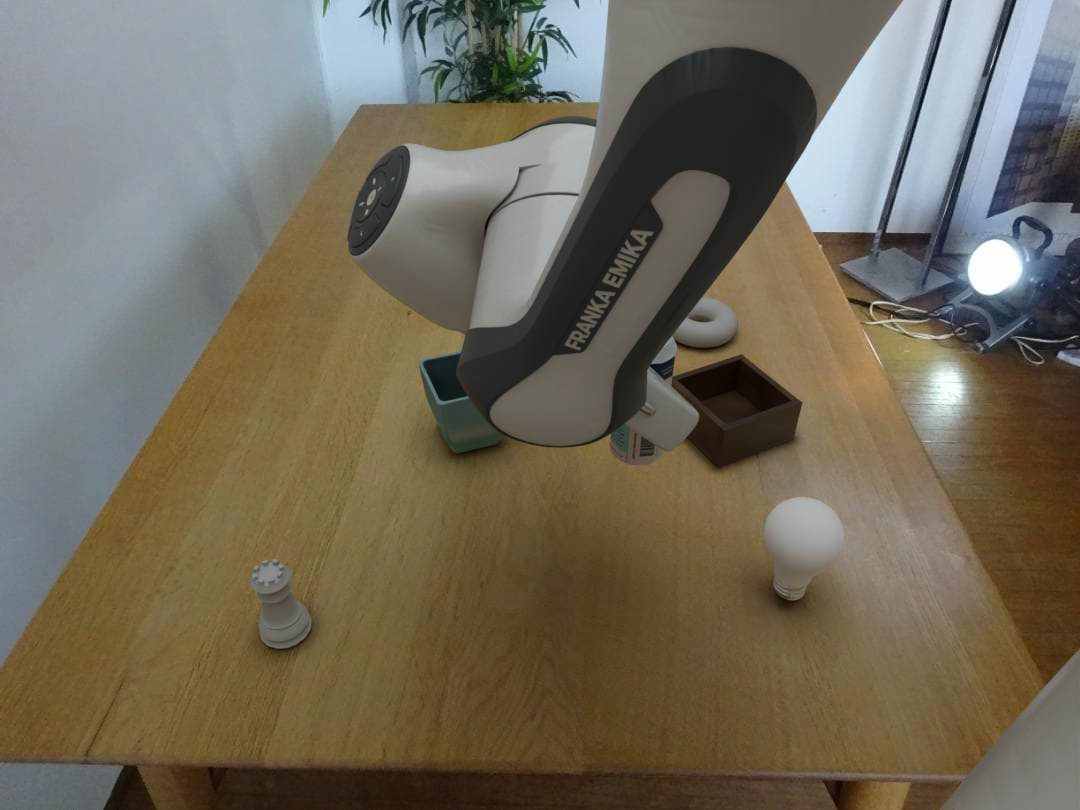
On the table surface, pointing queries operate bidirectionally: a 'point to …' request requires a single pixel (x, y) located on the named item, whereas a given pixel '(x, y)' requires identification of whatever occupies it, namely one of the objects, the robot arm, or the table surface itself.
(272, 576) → the rook chess piece
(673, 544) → the table surface
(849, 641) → the table surface
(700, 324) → the donut
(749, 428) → the holder
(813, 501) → the light bulb
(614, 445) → the beer can
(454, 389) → the flower pot
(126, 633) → the table surface
